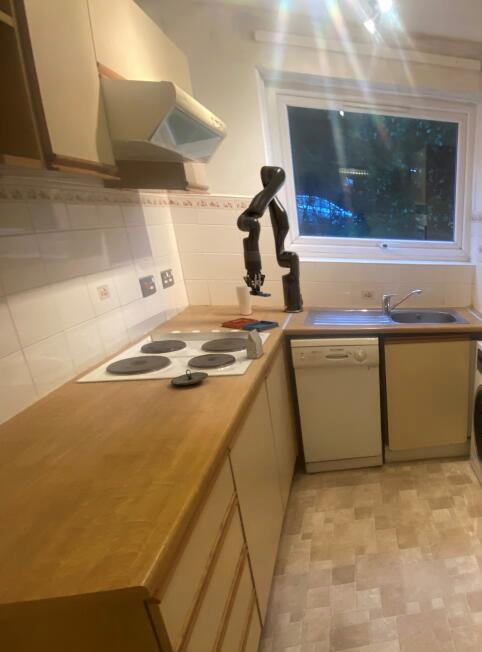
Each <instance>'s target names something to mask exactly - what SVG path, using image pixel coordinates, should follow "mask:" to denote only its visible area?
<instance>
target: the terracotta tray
mask: <svg viewBox="0 0 482 652" xmlns="http://www.w3.org/2000/svg"><path fill="white" fill-rule="evenodd" d="M245 319H247V320H251V321H250V322H246V323H242V324H231V322H233V321H237V320H245ZM257 321H259V319H255V318H247V317H239V318H235V319H230V320H227V321H222V322H221V327H224V328H230V329H236V330H237V329H243V328H242V325H246V324H250V323H253V322H257Z"/></svg>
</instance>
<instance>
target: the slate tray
mask: <svg viewBox="0 0 482 652" xmlns="http://www.w3.org/2000/svg"><path fill="white" fill-rule="evenodd" d="M277 327H279V322H278V321H270V320H263V319H261V320H258V321H257V322H253V323H250V324H246V325H242V328H241V329H242V330H243V331H250V332H251V331H252V330H254V329H256V331H257V332H259V333H260V332H264V331H267V330H271V329H273V328H277Z"/></svg>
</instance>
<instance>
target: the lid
mask: <svg viewBox="0 0 482 652" xmlns="http://www.w3.org/2000/svg"><path fill="white" fill-rule="evenodd" d="M188 372H189V373H188ZM208 376H209V374H208V373H207V372H203V371H195V372H194V371H193V372H191V370H190V369H186V370H185V374H181V375H179V376H176V377H174V378H172V379H171V381H170V384H172V385H174V386H189V385H193V384H197V383H200V382H202V381H203V380H205V379H207V378H208Z"/></svg>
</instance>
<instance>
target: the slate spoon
mask: <svg viewBox="0 0 482 652" xmlns="http://www.w3.org/2000/svg"><path fill="white" fill-rule="evenodd" d="M250 295H251V296H253V295H252V290H250ZM256 297H261V298H269V297H272V293H266V292H264V291H262V290H260V291H257V296H256Z"/></svg>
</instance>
